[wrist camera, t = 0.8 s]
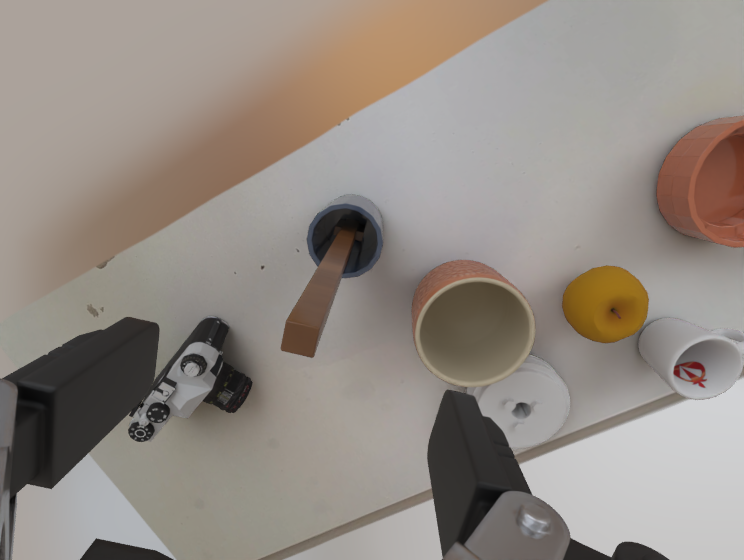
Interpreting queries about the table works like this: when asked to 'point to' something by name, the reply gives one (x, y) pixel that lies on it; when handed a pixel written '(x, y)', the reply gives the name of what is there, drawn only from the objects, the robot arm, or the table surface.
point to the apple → (606, 304)
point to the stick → (320, 293)
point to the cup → (693, 356)
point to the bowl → (706, 183)
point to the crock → (362, 251)
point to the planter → (471, 324)
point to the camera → (191, 382)
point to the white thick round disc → (526, 403)
